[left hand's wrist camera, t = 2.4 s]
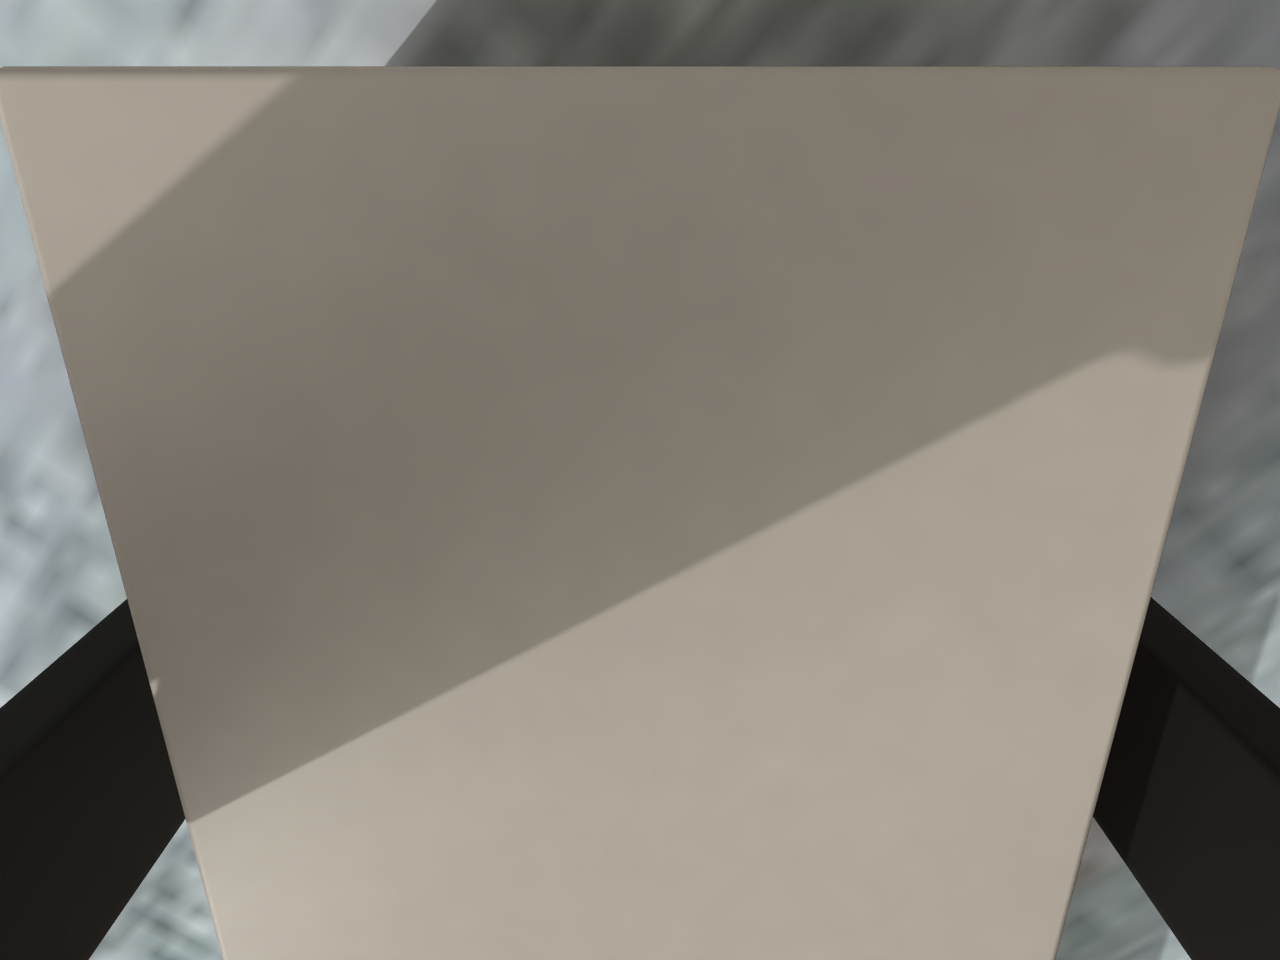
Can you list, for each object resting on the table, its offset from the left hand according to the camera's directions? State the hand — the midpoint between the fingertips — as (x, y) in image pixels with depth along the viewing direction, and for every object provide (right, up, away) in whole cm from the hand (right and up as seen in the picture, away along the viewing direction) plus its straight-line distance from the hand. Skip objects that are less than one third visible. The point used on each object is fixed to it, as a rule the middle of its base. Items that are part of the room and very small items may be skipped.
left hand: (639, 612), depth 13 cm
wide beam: (0, -18, +9) cm, 20 cm away
